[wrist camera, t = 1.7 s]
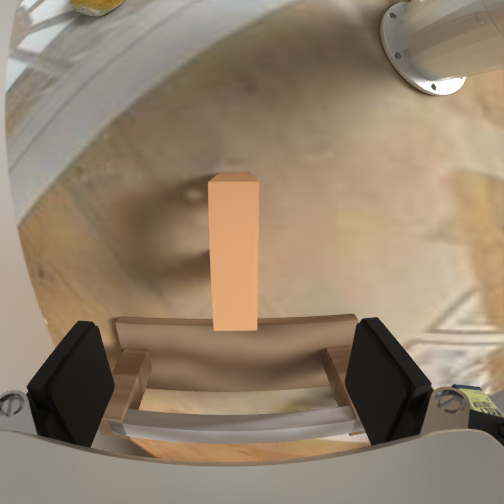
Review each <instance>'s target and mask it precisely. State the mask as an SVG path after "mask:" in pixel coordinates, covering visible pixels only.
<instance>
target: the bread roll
mask: <svg viewBox="0 0 504 504" xmlns="http://www.w3.org/2000/svg"><path fill="white" fill-rule="evenodd" d="M124 1H125V0H70V2H71V4H72V6H73V8H74V9H75V10H76V12H79V13H82V14H85V15H89V16H102V15H104V14H106V13H108V12H110V11H111V10H113V9H115V8H117V7H118V6H120V5H121V4H122V3H123V2H124Z"/></svg>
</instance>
